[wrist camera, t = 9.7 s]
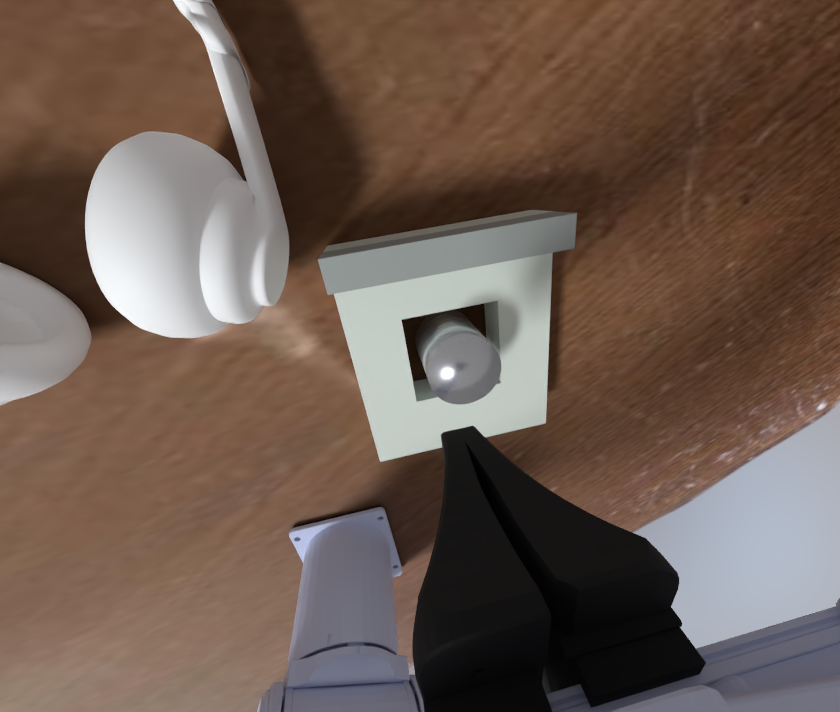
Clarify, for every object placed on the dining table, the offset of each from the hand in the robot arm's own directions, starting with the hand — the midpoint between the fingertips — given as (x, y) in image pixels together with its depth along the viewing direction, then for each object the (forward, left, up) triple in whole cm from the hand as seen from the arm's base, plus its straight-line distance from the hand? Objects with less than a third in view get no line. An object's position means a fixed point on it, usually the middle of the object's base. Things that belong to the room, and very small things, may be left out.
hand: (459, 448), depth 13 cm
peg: (0, -2, -10) cm, 10 cm away
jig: (0, -2, -10) cm, 10 cm away
